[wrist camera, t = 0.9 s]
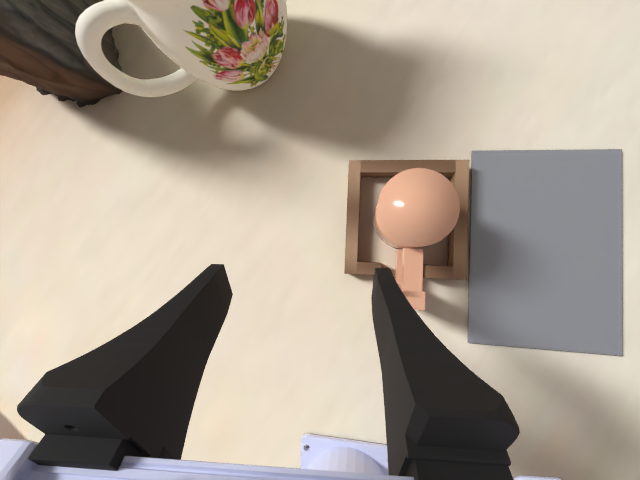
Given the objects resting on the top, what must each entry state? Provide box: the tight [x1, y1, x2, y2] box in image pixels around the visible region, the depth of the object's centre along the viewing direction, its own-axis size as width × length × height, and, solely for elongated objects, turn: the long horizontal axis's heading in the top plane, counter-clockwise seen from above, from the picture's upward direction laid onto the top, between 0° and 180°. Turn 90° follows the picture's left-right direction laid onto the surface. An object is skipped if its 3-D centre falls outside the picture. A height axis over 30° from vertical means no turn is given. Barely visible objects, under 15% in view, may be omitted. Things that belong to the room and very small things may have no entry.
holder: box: [345, 160, 469, 280], centre depth 24 cm, size 10×10×2 cm
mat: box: [468, 149, 622, 356], centre depth 23 cm, size 16×11×1 cm
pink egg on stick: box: [374, 168, 460, 310], centre depth 21 cm, size 9×5×7 cm, turn 178°
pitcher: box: [75, 0, 287, 97], centre depth 21 cm, size 11×18×14 cm, turn 128°
